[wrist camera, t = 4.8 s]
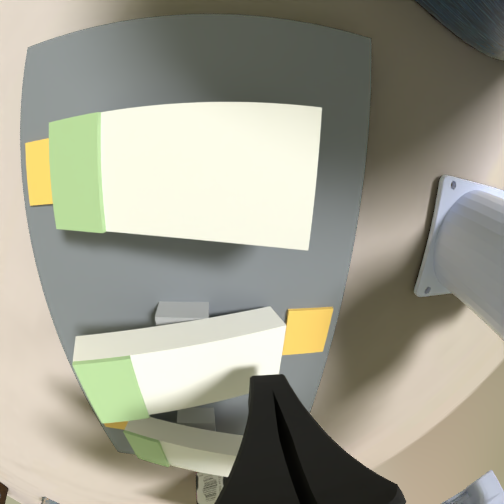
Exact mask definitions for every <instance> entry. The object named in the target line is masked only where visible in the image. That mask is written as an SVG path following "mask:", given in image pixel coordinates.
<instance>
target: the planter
mask: <svg viewBox="0 0 504 504" xmlns="http://www.w3.org/2000/svg"><path fill="white" fill-rule="evenodd" d="M415 1H416V2H418V3H419V4H420V5H421V6H422V7H423V8H424V9H425V10H426V11H428V12H429V13H430V14H431V15H432V16H433V17H434V18H436V19H437V20H438V21H439V22H440V23H442V24H443V25H444V26H445V27H446V28H448V29H449V30H450V31H451V32H453V33H454V34H455V35H456V36H458V37H459V38H460V39H462V40H463V41H464V42H466V43H467V44H469V45H470V46H472V47H473V48H475V49H476V50H478V51H480V52H482V53H483V54H485V55H487V56H490V57H492V58H495V59H498V60H502V61H504V0H415Z"/></svg>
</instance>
